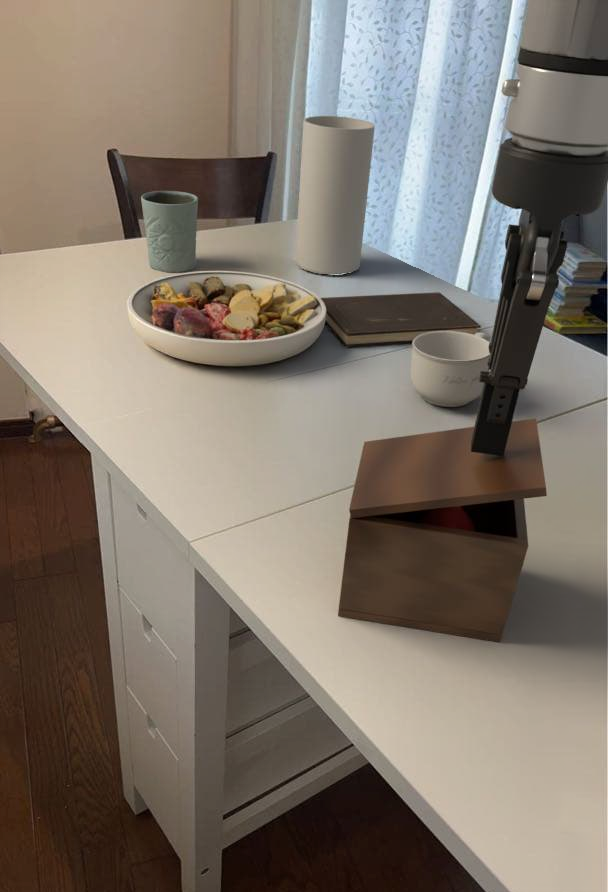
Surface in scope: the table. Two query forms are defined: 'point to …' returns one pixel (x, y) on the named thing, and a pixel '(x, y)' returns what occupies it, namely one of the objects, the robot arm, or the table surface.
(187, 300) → the bowl
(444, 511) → the onion
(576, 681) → the table surface
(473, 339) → the teacup
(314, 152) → the cylinder vase
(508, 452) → the lid
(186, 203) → the green embossed cup
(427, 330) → the hardcover book
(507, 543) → the box
